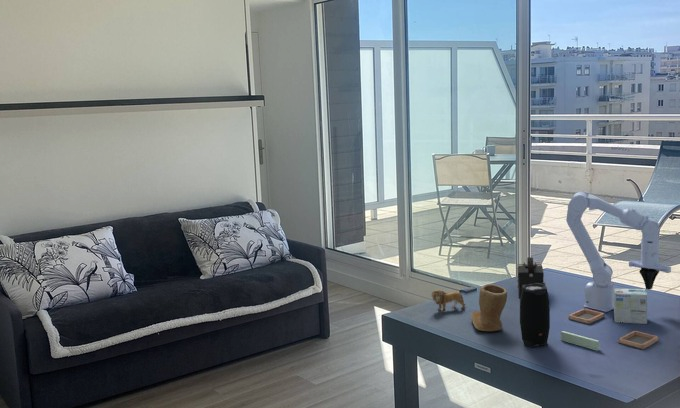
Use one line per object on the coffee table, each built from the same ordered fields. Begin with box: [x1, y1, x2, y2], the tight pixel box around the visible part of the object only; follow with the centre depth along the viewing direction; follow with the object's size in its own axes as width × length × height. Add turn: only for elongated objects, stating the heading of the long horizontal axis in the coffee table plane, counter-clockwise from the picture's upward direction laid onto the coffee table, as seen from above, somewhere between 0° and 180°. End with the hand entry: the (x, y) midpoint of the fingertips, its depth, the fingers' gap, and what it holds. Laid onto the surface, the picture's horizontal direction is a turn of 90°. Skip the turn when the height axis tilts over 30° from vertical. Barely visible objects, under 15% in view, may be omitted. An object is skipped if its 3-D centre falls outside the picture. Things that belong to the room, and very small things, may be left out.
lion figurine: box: [431, 289, 466, 313], centre depth 261 cm, size 15×5×9 cm, turn 114°
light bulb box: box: [613, 287, 648, 325], centre depth 239 cm, size 11×7×11 cm, turn 71°
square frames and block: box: [560, 308, 659, 351], centre depth 229 cm, size 32×29×3 cm
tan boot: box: [470, 283, 508, 332], centre depth 241 cm, size 15×12×15 cm
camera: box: [516, 256, 547, 299], centre depth 274 cm, size 11×14×15 cm
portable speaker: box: [519, 283, 551, 348], centre depth 222 cm, size 9×9×20 cm
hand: (649, 288), depth 246 cm, fingers closed
